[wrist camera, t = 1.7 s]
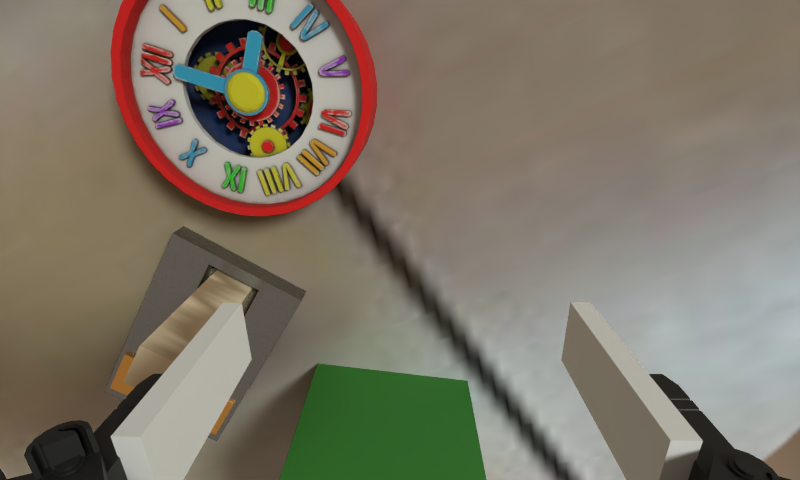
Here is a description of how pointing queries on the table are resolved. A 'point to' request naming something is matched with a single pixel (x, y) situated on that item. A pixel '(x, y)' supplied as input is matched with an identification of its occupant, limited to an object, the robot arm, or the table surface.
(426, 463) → the hardback book
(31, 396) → the table surface
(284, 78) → the toy clock
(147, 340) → the peg
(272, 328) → the slotted board
